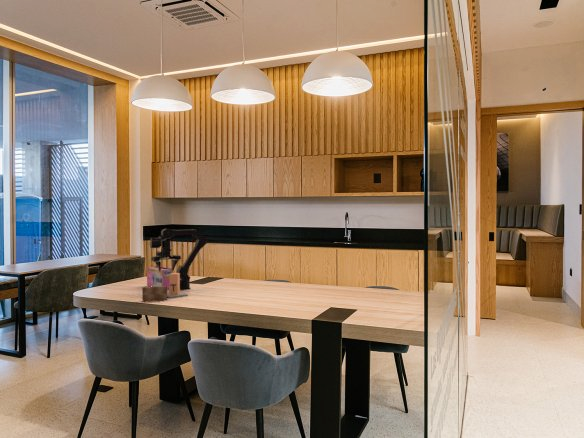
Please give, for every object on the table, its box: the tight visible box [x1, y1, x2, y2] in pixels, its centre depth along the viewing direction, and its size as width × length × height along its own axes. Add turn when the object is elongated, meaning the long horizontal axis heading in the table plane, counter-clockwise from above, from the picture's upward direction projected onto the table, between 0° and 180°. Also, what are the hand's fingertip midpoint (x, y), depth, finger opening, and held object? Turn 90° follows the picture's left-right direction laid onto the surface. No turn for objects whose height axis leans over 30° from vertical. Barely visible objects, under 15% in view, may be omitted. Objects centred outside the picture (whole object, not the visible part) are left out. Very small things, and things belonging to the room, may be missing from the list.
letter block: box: [169, 272, 181, 295], centre depth 283 cm, size 5×5×13 cm
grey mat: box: [167, 291, 189, 299], centre depth 283 cm, size 12×12×1 cm
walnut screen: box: [141, 286, 168, 303], centre depth 268 cm, size 14×5×8 cm, turn 107°
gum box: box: [146, 265, 174, 290], centre depth 316 cm, size 24×8×14 cm, turn 45°
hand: (166, 270), depth 303 cm, fingers open, 9 cm apart
